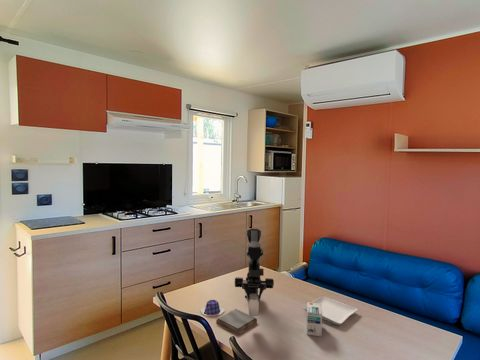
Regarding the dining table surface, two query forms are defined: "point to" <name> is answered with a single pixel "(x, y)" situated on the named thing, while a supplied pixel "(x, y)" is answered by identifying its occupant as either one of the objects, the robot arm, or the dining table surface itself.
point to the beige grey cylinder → (253, 304)
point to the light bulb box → (314, 319)
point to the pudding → (212, 308)
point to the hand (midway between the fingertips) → (253, 300)
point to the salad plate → (334, 310)
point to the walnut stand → (236, 321)
